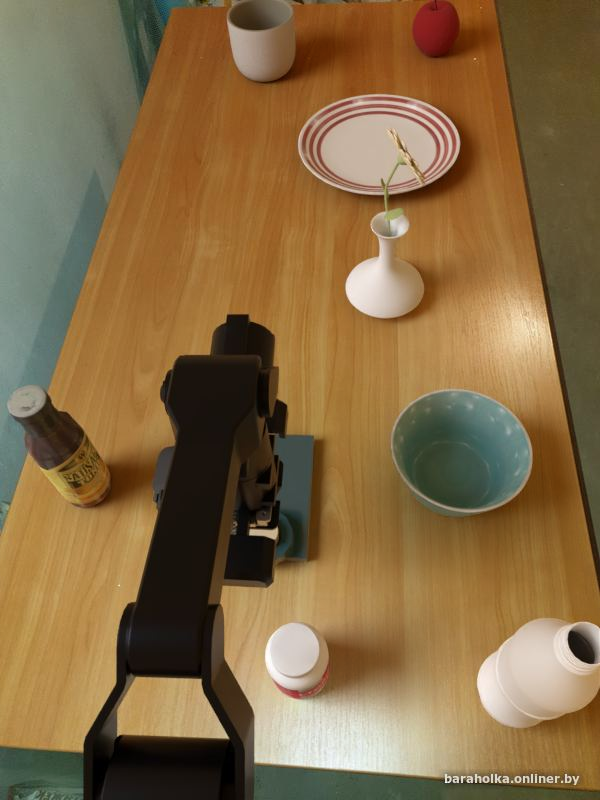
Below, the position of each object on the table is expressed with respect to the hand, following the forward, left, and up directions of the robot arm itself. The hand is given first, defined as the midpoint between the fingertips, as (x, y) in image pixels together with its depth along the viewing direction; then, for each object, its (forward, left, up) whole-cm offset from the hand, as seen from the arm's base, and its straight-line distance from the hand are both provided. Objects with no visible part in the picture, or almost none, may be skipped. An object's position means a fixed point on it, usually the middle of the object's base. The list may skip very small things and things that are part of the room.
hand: (258, 517), depth 68 cm
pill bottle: (-14, -5, -8) cm, 17 cm away
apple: (+102, -24, -8) cm, 106 cm away
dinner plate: (+70, -13, -8) cm, 72 cm away
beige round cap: (0, 0, -6) cm, 5 cm away
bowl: (+9, -22, -8) cm, 25 cm away
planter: (+96, +9, -8) cm, 97 cm away
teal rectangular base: (+6, 0, -8) cm, 10 cm away
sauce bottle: (+6, +23, -8) cm, 25 cm away
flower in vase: (+39, -14, -8) cm, 43 cm away
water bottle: (-15, -27, -8) cm, 31 cm away
